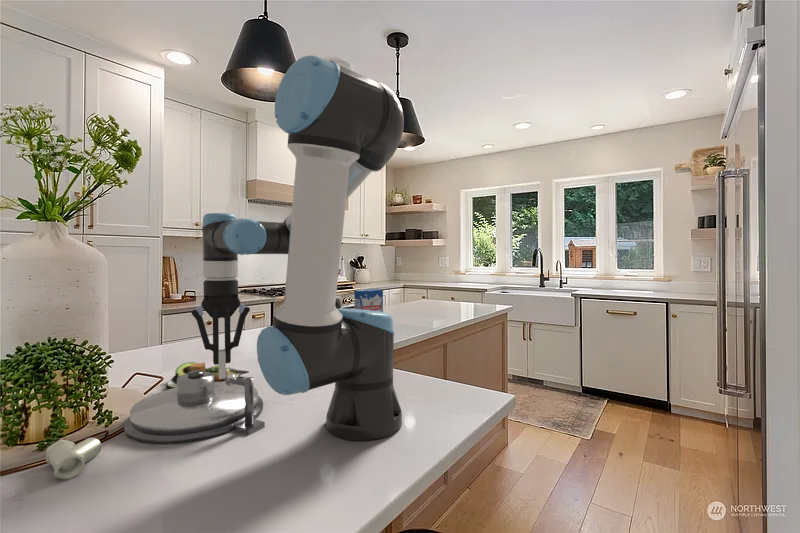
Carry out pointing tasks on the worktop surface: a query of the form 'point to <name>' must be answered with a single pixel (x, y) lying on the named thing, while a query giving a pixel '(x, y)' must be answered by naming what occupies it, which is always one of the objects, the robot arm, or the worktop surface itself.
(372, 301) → the milk carton
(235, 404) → the turntable
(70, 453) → the pipe fitting
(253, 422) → the stand
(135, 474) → the worktop surface
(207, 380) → the cast cover
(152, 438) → the turntable base
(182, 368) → the salad plate
